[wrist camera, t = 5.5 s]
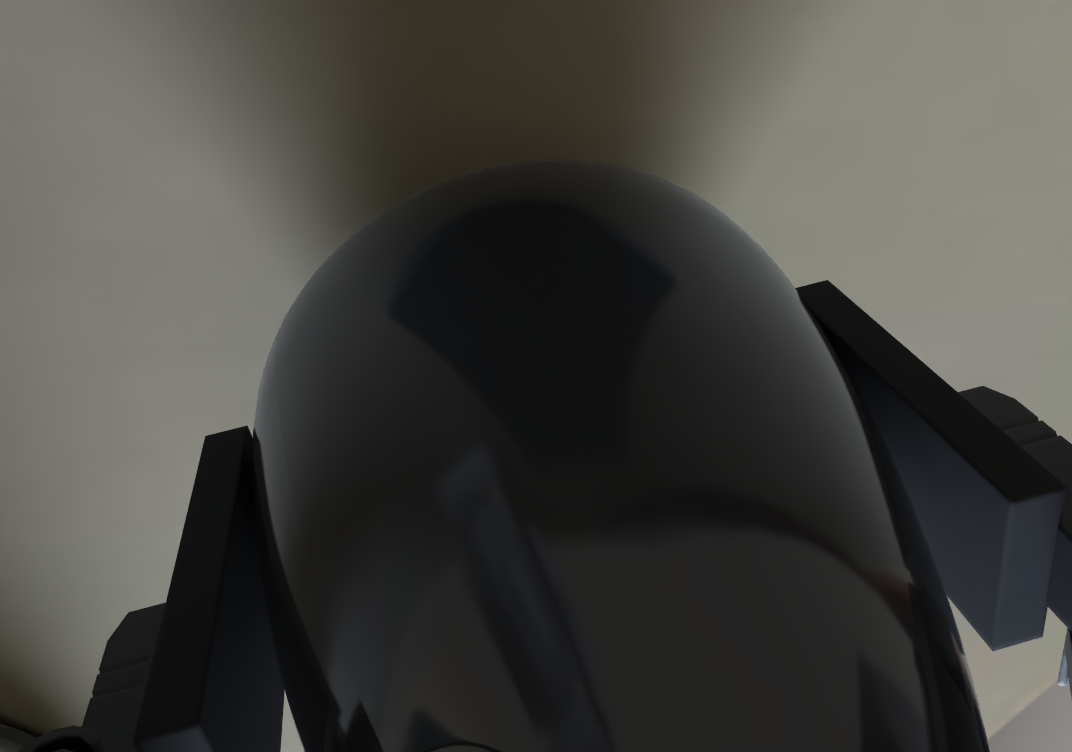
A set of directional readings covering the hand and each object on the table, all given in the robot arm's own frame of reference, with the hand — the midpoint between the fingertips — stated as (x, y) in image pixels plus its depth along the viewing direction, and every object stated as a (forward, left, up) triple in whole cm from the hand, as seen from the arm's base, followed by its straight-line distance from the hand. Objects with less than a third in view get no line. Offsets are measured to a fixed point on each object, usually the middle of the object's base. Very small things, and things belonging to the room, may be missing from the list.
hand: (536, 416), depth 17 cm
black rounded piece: (0, 0, -3) cm, 3 cm away
